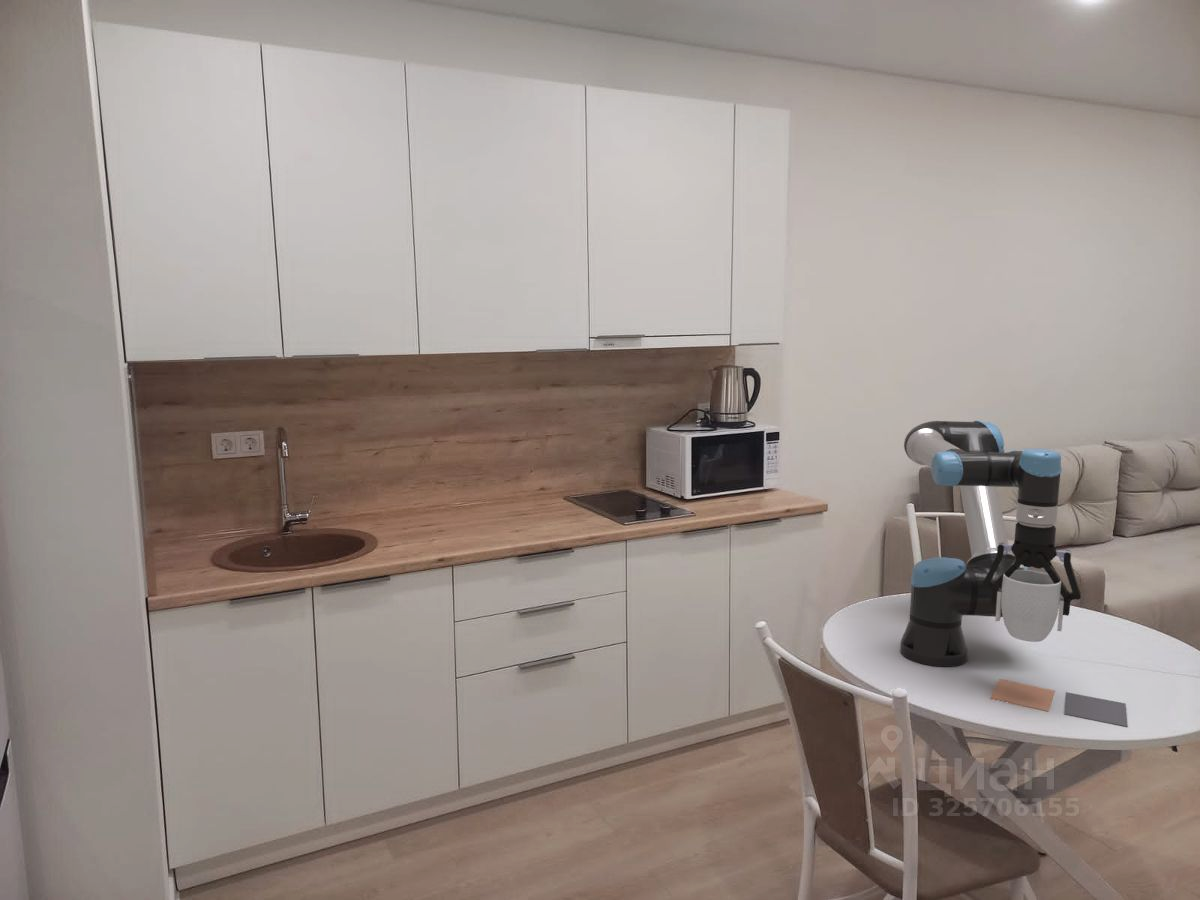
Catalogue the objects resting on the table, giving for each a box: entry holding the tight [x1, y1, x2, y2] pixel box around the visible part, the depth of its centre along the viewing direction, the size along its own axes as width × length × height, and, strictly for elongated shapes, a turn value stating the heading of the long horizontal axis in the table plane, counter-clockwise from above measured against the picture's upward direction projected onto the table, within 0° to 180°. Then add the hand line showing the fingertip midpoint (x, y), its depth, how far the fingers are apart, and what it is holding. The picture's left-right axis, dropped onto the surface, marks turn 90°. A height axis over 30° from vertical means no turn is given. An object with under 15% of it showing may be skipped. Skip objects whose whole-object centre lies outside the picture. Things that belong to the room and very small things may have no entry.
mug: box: [1001, 569, 1062, 643], centre depth 179 cm, size 15×11×13 cm
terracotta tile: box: [989, 678, 1056, 713], centre depth 180 cm, size 11×12×1 cm
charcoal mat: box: [1063, 691, 1129, 728], centre depth 174 cm, size 11×12×1 cm
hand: (1028, 624), depth 178 cm, fingers closed on mug, 11 cm apart
